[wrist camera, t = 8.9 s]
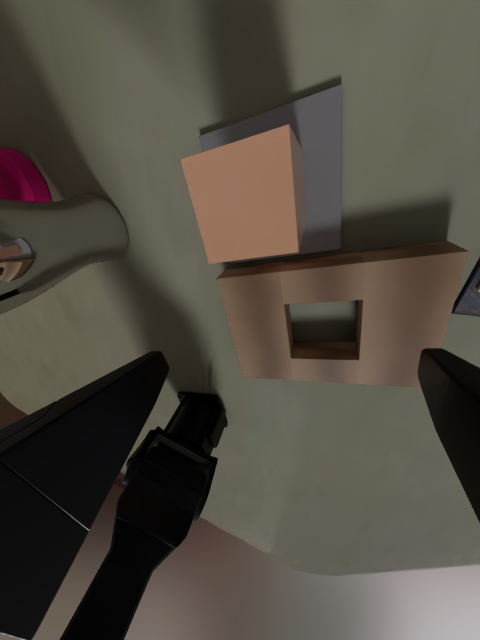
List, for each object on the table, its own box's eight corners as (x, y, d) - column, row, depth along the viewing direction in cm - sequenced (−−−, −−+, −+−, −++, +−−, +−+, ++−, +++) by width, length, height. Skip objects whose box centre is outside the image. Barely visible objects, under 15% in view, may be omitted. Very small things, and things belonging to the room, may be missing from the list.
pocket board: (249, 360, 26) (243, 377, 23) (226, 268, 20) (216, 278, 18) (418, 365, 20) (430, 387, 18) (447, 240, 15) (468, 251, 13)
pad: (230, 262, 20) (229, 263, 20) (201, 137, 16) (199, 136, 15) (340, 247, 17) (340, 249, 16) (341, 86, 12) (342, 83, 12)
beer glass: (70, 240, 24) (-186, 307, 12) (70, 171, 20) (-326, 161, 8) (127, 275, 24) (-65, 374, 12) (138, 213, 20) (-138, 269, 8)
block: (248, 232, 18) (209, 263, 11) (236, 167, 16) (180, 159, 9) (305, 222, 16) (298, 252, 10) (301, 148, 14) (289, 124, 8)
